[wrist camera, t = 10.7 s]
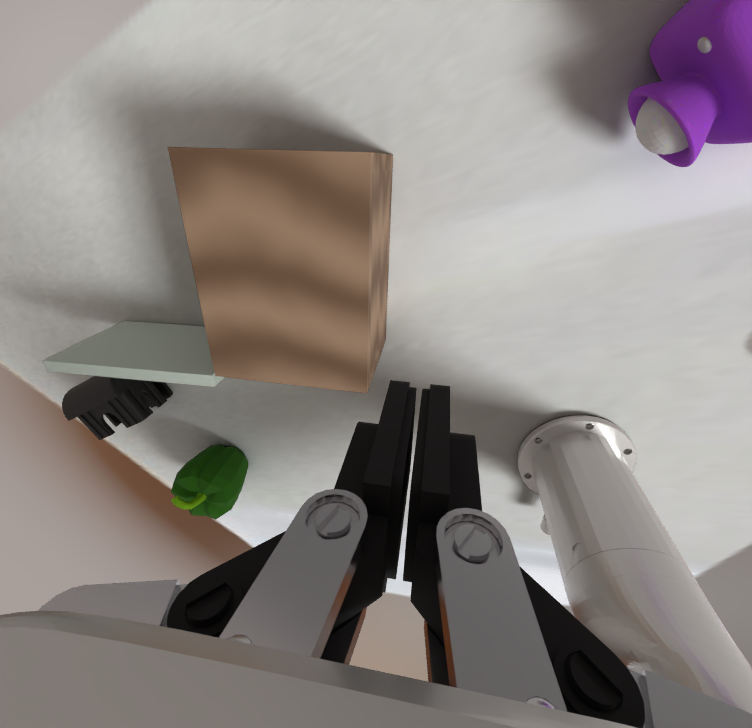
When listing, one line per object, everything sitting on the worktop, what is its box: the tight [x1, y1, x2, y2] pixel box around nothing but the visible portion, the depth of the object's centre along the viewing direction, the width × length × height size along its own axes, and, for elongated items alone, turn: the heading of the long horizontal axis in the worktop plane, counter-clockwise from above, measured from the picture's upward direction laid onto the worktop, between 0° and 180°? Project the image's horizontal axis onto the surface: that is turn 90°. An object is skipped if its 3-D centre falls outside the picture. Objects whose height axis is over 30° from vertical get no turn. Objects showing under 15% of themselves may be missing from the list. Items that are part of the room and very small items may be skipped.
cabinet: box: [168, 147, 393, 393], centre depth 34 cm, size 18×14×11 cm
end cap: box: [62, 376, 173, 440], centre depth 48 cm, size 10×7×7 cm
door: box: [43, 321, 224, 387], centre depth 41 cm, size 18×2×11 cm, turn 90°
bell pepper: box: [171, 445, 248, 519], centre depth 51 cm, size 8×8×10 cm
